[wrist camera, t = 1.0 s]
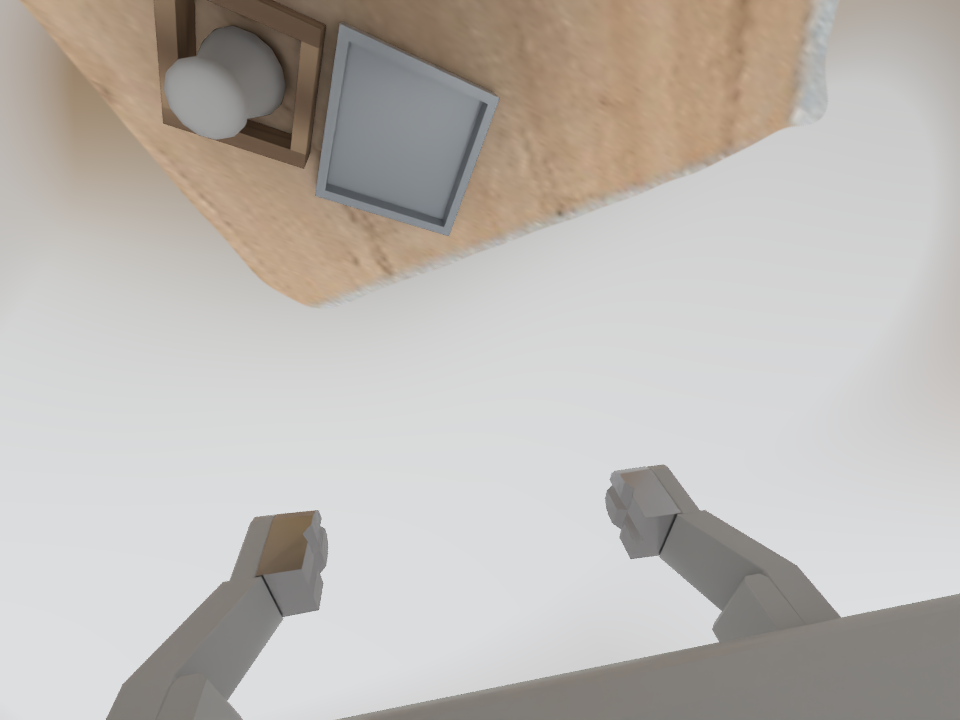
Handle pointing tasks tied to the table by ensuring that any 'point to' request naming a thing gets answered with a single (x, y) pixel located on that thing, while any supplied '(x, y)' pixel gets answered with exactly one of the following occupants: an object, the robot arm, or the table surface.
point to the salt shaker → (225, 83)
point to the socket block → (257, 5)
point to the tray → (400, 133)
